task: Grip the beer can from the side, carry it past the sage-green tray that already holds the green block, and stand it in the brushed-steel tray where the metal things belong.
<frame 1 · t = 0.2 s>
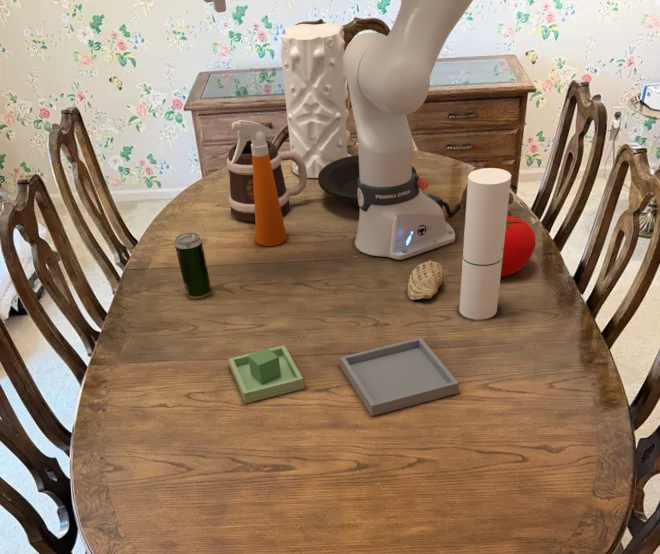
hand: (214, 6, 122), 48 cm above the table, tool pointing down, fingers open, 8 cm apart
stuffed squirrel: (482, 218, 168), on the table
green block: (266, 375, 127), point 1 cm above the table, touching sage tray
sage tray: (266, 378, 128), on the table
steel tray: (397, 379, 125), on the table
spray bottle: (265, 243, 166), on the table
tomato: (497, 270, 150), on the table
plate: (367, 199, 180), on the table
beer can: (199, 294, 152), on the table
vase: (321, 168, 196), on the table
seashell: (426, 292, 146), on the table
cylindrical container: (477, 310, 139), on the table
mug: (270, 210, 179), on the table
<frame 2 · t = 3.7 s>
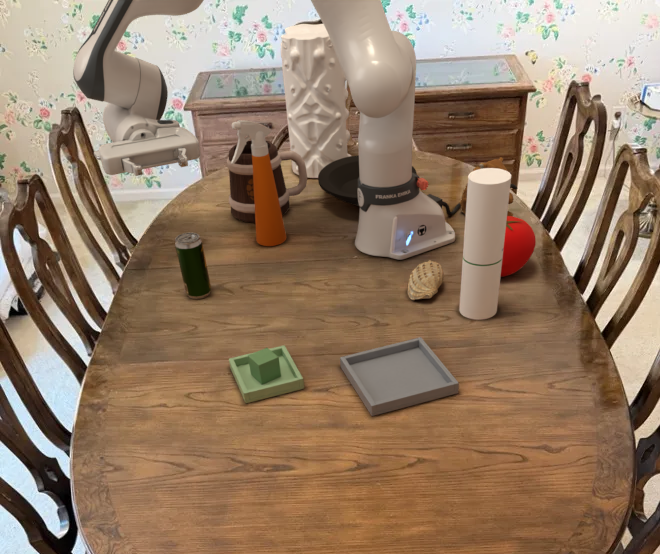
hand: (161, 167, 143), 22 cm above the table, tool horizontal, fingers open, 8 cm apart
nothing on the table moved.
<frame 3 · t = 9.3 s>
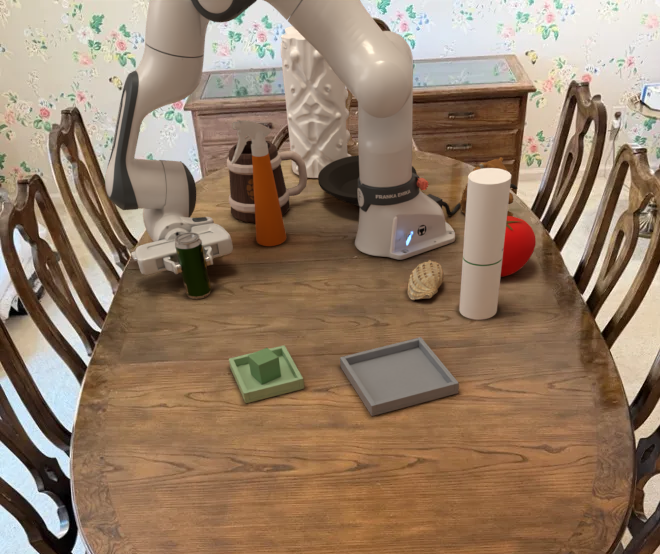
hand: (194, 265, 146), 7 cm above the table, tool horizontal, fingers closed on beer can, 5 cm apart
beer can: (199, 294, 152), on the table, touching gripper
everything else where it was.
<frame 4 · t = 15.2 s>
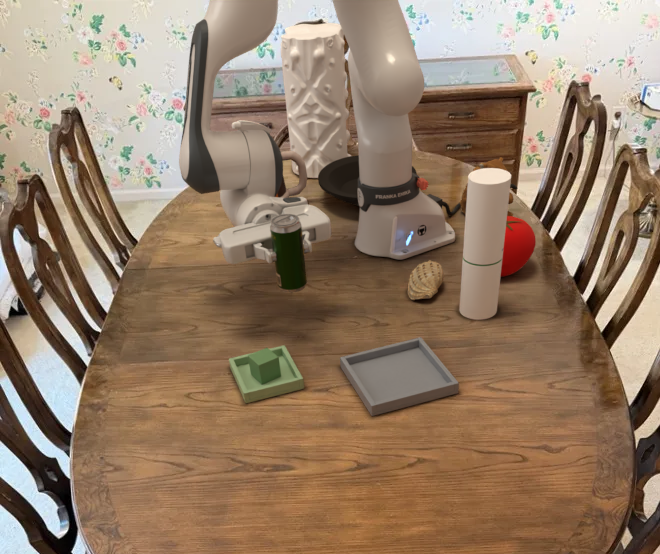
hand: (290, 253, 124), 17 cm above the table, tool horizontal, fingers closed on beer can, 5 cm apart
beer can: (292, 287, 130), point 10 cm above the table, touching gripper
everything else where it was.
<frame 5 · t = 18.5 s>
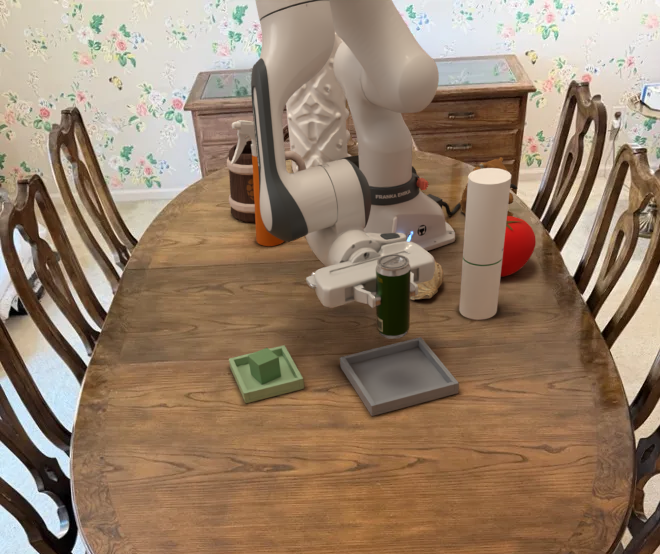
hand: (395, 297, 113), 16 cm above the table, tool horizontal, fingers closed on beer can, 5 cm apart
beer can: (393, 332, 119), point 9 cm above the table, touching gripper
everything else where it was.
when the fingers open (7 cm above the table, at t = 21.4 s): beer can stays where it is, resting on steel tray.
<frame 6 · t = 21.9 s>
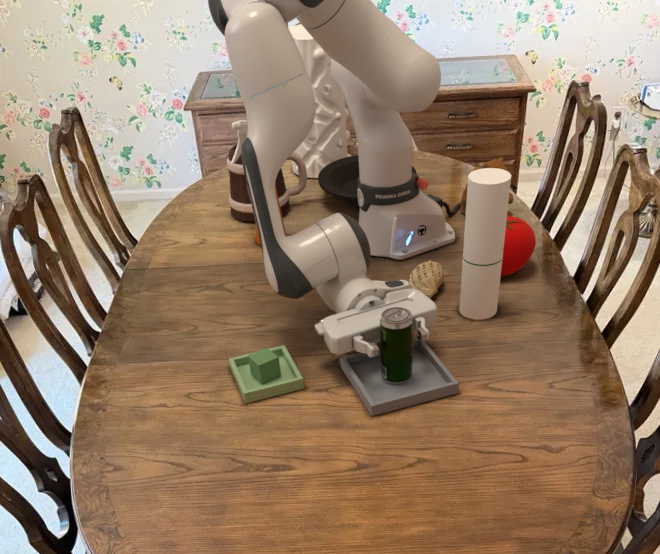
hand: (400, 344, 119), 7 cm above the table, tool horizontal, fingers open, 8 cm apart
beer can: (396, 378, 125), resting on steel tray
everything else where it was.
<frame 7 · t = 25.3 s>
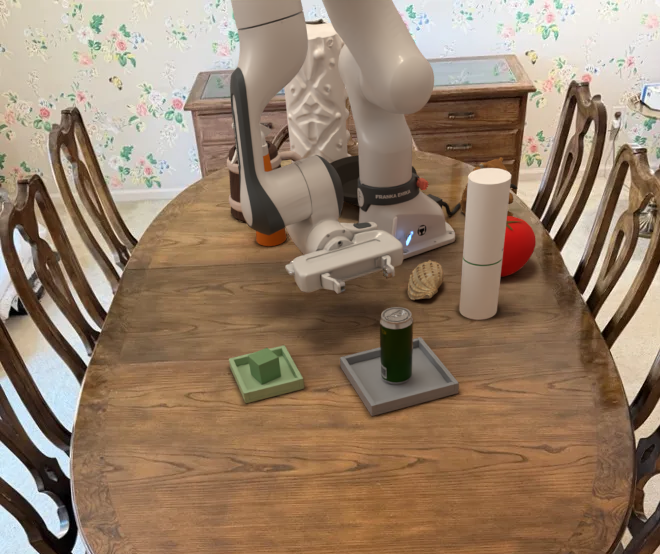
hand: (366, 281, 124), 13 cm above the table, tool horizontal, fingers open, 8 cm apart
nothing on the table moved.
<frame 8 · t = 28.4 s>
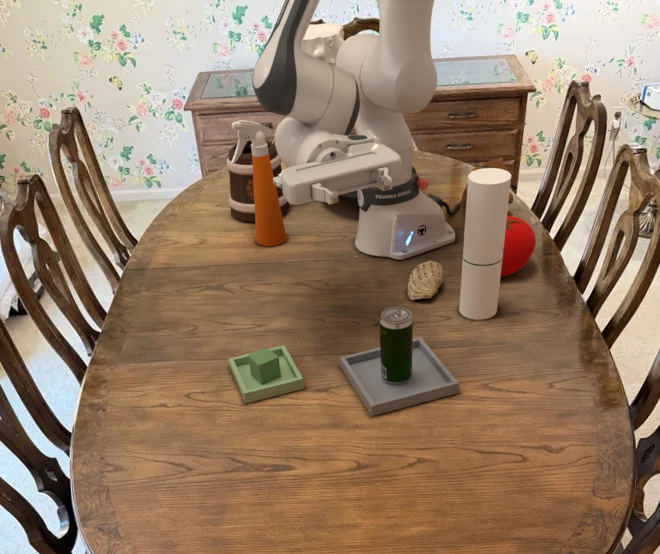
hand: (361, 191, 113), 28 cm above the table, tool horizontal, fingers open, 8 cm apart
nothing on the table moved.
at the end: beer can inside the target area in the steel tray (0.2 cm from its centre), point 0.4 cm above the steel tray's base; beer can tilted 0°; the gripper is holding nothing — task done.
